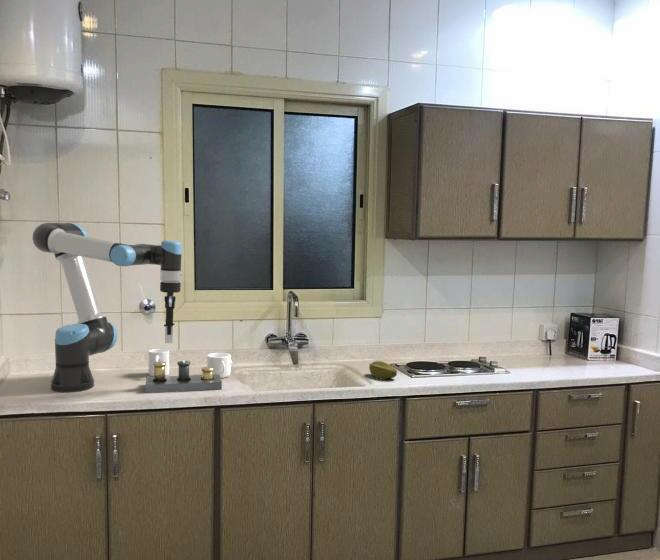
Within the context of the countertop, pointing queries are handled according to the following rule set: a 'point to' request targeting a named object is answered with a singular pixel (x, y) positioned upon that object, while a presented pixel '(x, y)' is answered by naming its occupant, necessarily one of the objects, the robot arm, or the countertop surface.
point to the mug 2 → (220, 363)
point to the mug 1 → (158, 359)
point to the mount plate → (183, 384)
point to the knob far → (207, 373)
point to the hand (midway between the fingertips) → (168, 342)
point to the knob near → (159, 371)
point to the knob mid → (183, 370)
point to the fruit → (382, 370)
